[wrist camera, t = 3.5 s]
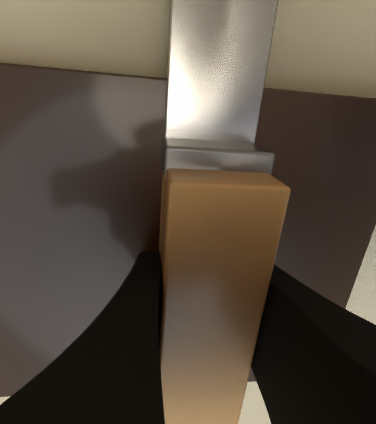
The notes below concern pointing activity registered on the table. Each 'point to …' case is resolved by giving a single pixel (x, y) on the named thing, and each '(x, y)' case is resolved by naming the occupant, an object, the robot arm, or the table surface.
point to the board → (150, 197)
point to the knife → (215, 207)
